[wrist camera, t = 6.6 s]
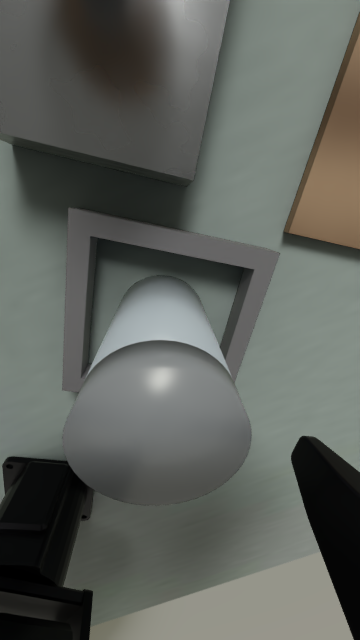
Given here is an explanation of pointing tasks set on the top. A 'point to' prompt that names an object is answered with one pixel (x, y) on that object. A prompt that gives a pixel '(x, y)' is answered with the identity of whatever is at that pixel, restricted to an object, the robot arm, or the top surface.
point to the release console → (111, 80)
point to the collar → (100, 225)
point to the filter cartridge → (157, 403)
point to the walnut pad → (334, 164)
